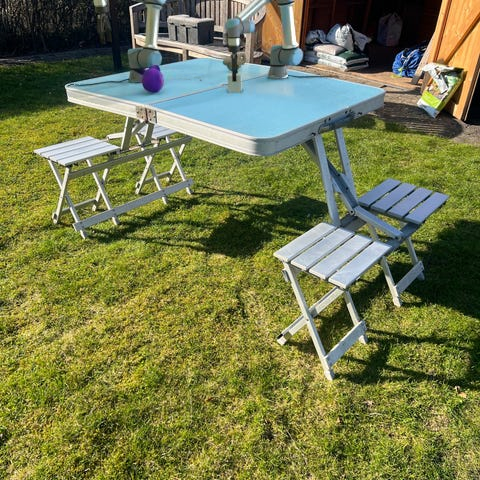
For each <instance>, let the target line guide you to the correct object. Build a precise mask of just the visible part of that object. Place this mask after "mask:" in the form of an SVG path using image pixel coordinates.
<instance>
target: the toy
mask: <svg viewBox="0 0 480 480" xmlns="http://www.w3.org/2000/svg"><path fill="white" fill-rule="evenodd" d="M134 71H135V72H137V73H139V74H141V75H143V76H142V83H141V85H142V87H143V89H144V90H145V91H146V92H147V93H151V94H157V93H159V92H160V91H161V90H162V89H163V87H164V86H165V78H164V75H163V72H161V67H160V65H159V66H158V65H154V66H150V67H149V68H146V70H134Z"/></svg>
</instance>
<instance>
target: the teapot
mask: <svg viewBox="0 0 480 480" xmlns="http://www.w3.org/2000/svg"><path fill="white" fill-rule="evenodd" d="M231 55H232V53H231V54H230V57H225V58H224V59H222V65H224V66H226V68H227V69H228V71H230V72H232V71H231V70H232V58H231ZM237 55H238V57H237V64H238V67H237V68H238V70H239V69H241V68H242V66H243V65H245V64H246V62H247V56H246V54H245V53H244V52H241V53H239V54H237ZM241 58H242V60H241Z"/></svg>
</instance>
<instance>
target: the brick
mask: <svg viewBox="0 0 480 480" xmlns="http://www.w3.org/2000/svg"><path fill="white" fill-rule="evenodd" d="M242 77H243V74H242V73H241V72H238V73H236V78H237V82H232V72H229V73H228V74H227V92H228V93H242V90H243V81H242V79H243V78H242Z"/></svg>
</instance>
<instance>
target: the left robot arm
mask: <svg viewBox="0 0 480 480" xmlns="http://www.w3.org/2000/svg"><path fill="white" fill-rule="evenodd" d="M131 1H132V2H137V3H140V4H145V7H146V8H147V11H146V12H147V13H146V24H145V25H146V26H145V40H144V45H142V47H135V48H130V49H127V58H128V66H129V76H128V78H125V79H122V80H106V81H100V82H94V83H86V84H85V83H82V84H81V83H80V85H79V84H77V83H69V84H70V85H69V84H67V87H68V88H69V87H70V86H78V87H83V86H85V87H86V86H94V85H100V84H107V83H122V82H127V81H128V82H129V83H133V84H142V76H143V75H141V74H139V73H137V72H135V71H134V70H147V69H149V67H150V66H154V65H158V66H159V67H160V66H161V64H162V60H163V57H162V54H161V52H160V49H159V47H158V40H159V27H160V14H161V10H162V9H163V5H164V4H165V3H166V2H167V0H131ZM107 2H108V0H93V5H94V11H95V13H96V14H97V15H96V22H97V23H96V25H97V29H96V30H97V34H98V35H99V40H100V44H101V45H106V40H107V42H109V43H110V42H113V39H112V34H111V31H112V27H111V22H110V20H109V15H108V12H109V9H108V6H107ZM104 28H105V33H104ZM105 34H106V38H105ZM74 84H75V85H74ZM73 136H74V138H75V137H76V131H75V130H73Z"/></svg>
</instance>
